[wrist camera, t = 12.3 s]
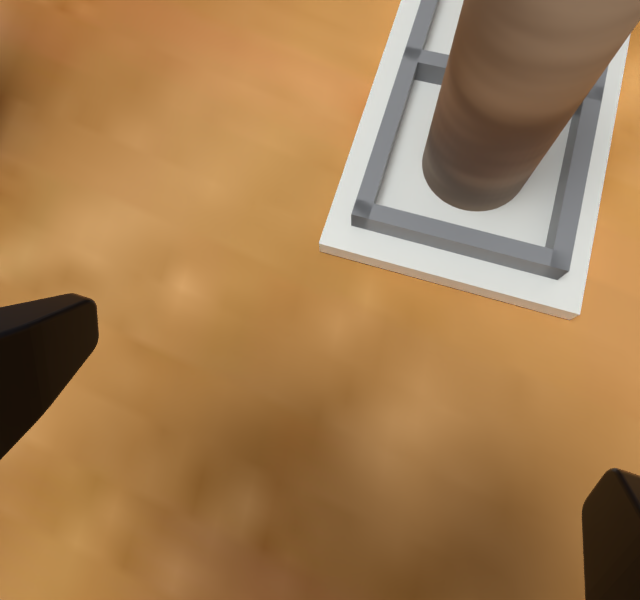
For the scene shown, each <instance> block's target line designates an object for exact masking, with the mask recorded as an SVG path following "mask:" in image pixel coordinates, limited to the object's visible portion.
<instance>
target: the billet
mask: <svg viewBox="0 0 640 600" xmlns="http://www.w3.org/2000/svg"><path fill="white" fill-rule="evenodd" d="M639 21H640V0H464V1H463V5H462V9H461V12H460V16H459V20H458V24H457V28H456V31H455V35H454V39H453V43H452V47H451V50H450V54H449V58H448V62H447V66H446V69H445V73H444V77H443V81H442V84H441V88H440V92H439V96H438V100H437V103H436V107H435V111H434V115H433V119H432V122H431V126H430V130H429V134H428V138H427V141H426V145H425V149H424V153H423V158H422V169H423V174H424V178H425V180H426V182H427V184H428V186H429V187H430V189H431V190H432V191H433V192H434V194H435V195H436V196H438V197H439V198H440V199H441V200H443V201H444V202H445V203H447V204H449V205H451V206H453V207H456V208H458V209H462V210H466V211H478V212H479V211H488V210H493V209H496V208H499V207H501V206H503V205H505V204H506V203H508V202H509V201H511V200H512V199H513V198H514V197H515V196H516V195H517V194H518V193H519V192H520V190H521V189H522V187H523V186H524V184H525V183H526V182H527V180H528V179H529V177H530V176H531V174H532V173H533V172H534V170H535V169H536V167H537V166H538V164H539V163H540V162H541V160H542V159H543V157H544V156H545V155H546V153H547V152H548V150H549V149H550V147H551V146H552V145H553V143H554V142H555V140H556V139H557V137H558V136H559V135H560V133H561V132H562V130H563V129H564V127H565V126H566V125H567V123H568V122H569V120H570V119H571V117H572V116H573V115H574V113H575V112H576V110H577V109H578V108H579V106H580V105H581V103H582V102H583V100H584V99H585V98H586V96H587V95H588V93H589V92H590V90H591V89H592V88H593V86H594V85H595V83H596V82H597V80H598V79H599V78H600V76H601V75H602V73H603V72H604V70H605V69H606V68H607V66H608V65H609V63H610V62H611V60H612V59H613V58H614V56H615V55H616V53H617V52H618V51H619V49H620V48H621V46H622V45H623V43H624V42H625V41H626V39H627V38H628V36H629V35H630V33H631V32H632V31H633V29H634V28H635V26H636V25H637V23H638V22H639Z"/></svg>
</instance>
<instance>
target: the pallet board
mask: <svg viewBox="0 0 640 600" xmlns="http://www.w3.org/2000/svg"><path fill="white" fill-rule="evenodd" d="M463 1H464V0H401V3H400V6H399V9H398V11H397V14H396V17H395V20H394V23H393V26H392V29H391V32H390V35H389V38H388V41H387V44H386V47H385V50H384V53H383V56H382V59H381V62H380V65H379V67H378V70H377V73H376V76H375V79H374V82H373V85H372V88H371V91H370V94H369V97H368V100H367V103H366V106H365V109H364V112H363V115H362V118H361V121H360V124H359V126H358V129H357V132H356V135H355V138H354V141H353V144H352V147H351V150H350V153H349V156H348V159H347V162H346V165H345V168H344V171H343V174H342V177H341V180H340V182H339V185H338V188H337V191H336V194H335V197H334V200H333V203H332V206H331V209H330V212H329V215H328V218H327V221H326V224H325V227H324V230H323V233H322V236H321V238H320V241H319V248H320V251H321V252H324V253H328V254H331V255H335V256H339V257H342V258H346V259H350V260H353V261H357V262H361V263H364V264H368V265H371V266H375V267H379V268H382V269H386V270H390V271H393V272H397V273H400V274H404V275H408V276H411V277H415V278H419V279H422V280H426V281H430V282H433V283H437V284H440V285H444V286H448V287H451V288H455V289H459V290H462V291H466V292H470V293H473V294H477V295H480V296H484V297H488V298H491V299H495V300H499V301H502V302H506V303H510V304H513V305H517V306H520V307H524V308H528V309H531V310H535V311H539V312H542V313H546V314H550V315H553V316H557V317H560V318H564V319H568V320H571V319H573V318H574V317H576V316H578V315H580V311H581V306H582V300H583V295H584V289H585V284H586V278H587V272H588V267H589V261H590V256H591V250H592V245H593V239H594V234H595V228H596V222H597V217H598V211H599V206H600V200H601V195H602V189H603V184H604V178H605V173H606V167H607V161H608V156H609V150H610V145H611V139H612V134H613V128H614V123H615V117H616V111H617V106H618V100H619V95H620V89H621V84H622V78H623V73H624V67H625V61H626V56H627V50H628V45H629V39H630V35H629V36H628V38H627V39H626V41H625V42H624V43H623V45H622V46H621V48H620V49H619V51H618V52H617V53H616V55H615V56H614V58H613V59H612V60H611V62H610V63H609V65H608V66H607V68H606V69H605V70H604V72H603V73H602V75H601V76H600V78H599V79H598V80H597V82H596V83H595V85H594V86H593V88H592V89H591V90H590V92H589V93H588V95H587V96H586V98H585V99H584V100H583V102H582V103H581V105H580V106H579V108H578V109H577V110H576V112H575V113H574V115H573V116H572V117H571V119H570V120H569V122H568V123H567V125H566V126H565V127H564V129H563V130H562V132H561V133H560V135H559V136H558V137H557V139H556V140H555V142H554V143H553V145H552V146H551V147H550V149H549V150H548V152H547V153H546V155H545V156H544V157H543V159H542V160H541V162H540V163H539V164H538V166H537V167H536V169H535V170H534V172H533V173H532V174H531V176H530V177H529V179H528V180H527V182H526V183H525V184H524V186H523V187H522V189H521V190H520V192H519V193H518V194H517V195H516V196H515V197H514V198H513V199H512V200H511V201H509V202H508V203H506V204H505V205H503V206H501V207H499V208H496V209H493V210H488V211H479V212H478V211H466V210H462V209H458V208H456V207H453V206H451V205H449V204H447V203H445V202H444V201H443V200H441V199H440V198H439V197H438V196H436V195H435V194H434V192H433V191H432V190H431V189H430V187H429V186H428V184H427V182H426V180H425V178H424V174H423V169H422V158H423V153H424V149H425V145H426V141H427V138H428V134H429V130H430V126H431V122H432V119H433V115H434V111H435V107H436V103H437V100H438V96H439V92H440V88H441V84H442V81H443V77H444V73H445V69H446V66H447V62H448V58H449V54H450V50H451V47H452V43H453V39H454V35H455V31H456V28H457V24H458V20H459V16H460V12H461V9H462V5H463ZM630 34H631V33H630Z"/></svg>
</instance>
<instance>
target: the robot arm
mask: <svg viewBox="0 0 640 600" xmlns="http://www.w3.org/2000/svg"><path fill="white" fill-rule="evenodd" d="M98 338H99V332H98V318H97V306H96V304H95V302H94V301H93V300H92V299H90V298H87V297H84V296H81V295H78V294H74V293H70V294H64V295H59V296H55V297H50V298H45V299H40V300H35V301H30V302H25V303H20V304H15V305H10V306H5V307H0V460H1V459H2V458H3V457H4V455H5V454H6V453H7V452H8V451H9V450H10V449H11V448H12V447H13V446H14V445H15V444H16V443H17V442H18V441H19V440H20V439H21V438H22V437H23V436H24V434H25V433H26V432H27V431H28V430H29V429H30V428H31V427H32V426H33V425H34V424H35V423H36V422H37V421H38V419H39V418H40V417H41V416H42V415H43V414H44V413H45V412H46V410H47V409H48V408H49V407H50V406H51V404H52V403H53V402H54V401H55V399H56V398H57V397H58V395H59V394H60V393H61V392H62V390H63V389H64V388H65V386H66V385H67V384H68V383H69V381H70V380H71V379H72V377H73V376H74V375H75V374H76V372H77V371H78V370H79V368H80V367H81V366H82V365H83V363H84V362H85V361H86V359H87V358H88V357H89V356H90V354H91V353H92V352H93V350H94V349H95V347H96V345H97V342H98ZM582 530H583V554H584V578H585V599H586V600H640V476H639V475H636V474H633V473H630V472H627V471H624V470H621V469H618V468H612V469H609V470H608V471H607V472H606V473H605V474H604V475H603V476H602V478H601V479H600V481H599V482H598V483H597V485H596V486H595V487H594V489H593V490H592V491H591V493H590V494H589V496H588V497H587V498H586V500H585V502H584V505H583V509H582Z"/></svg>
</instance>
